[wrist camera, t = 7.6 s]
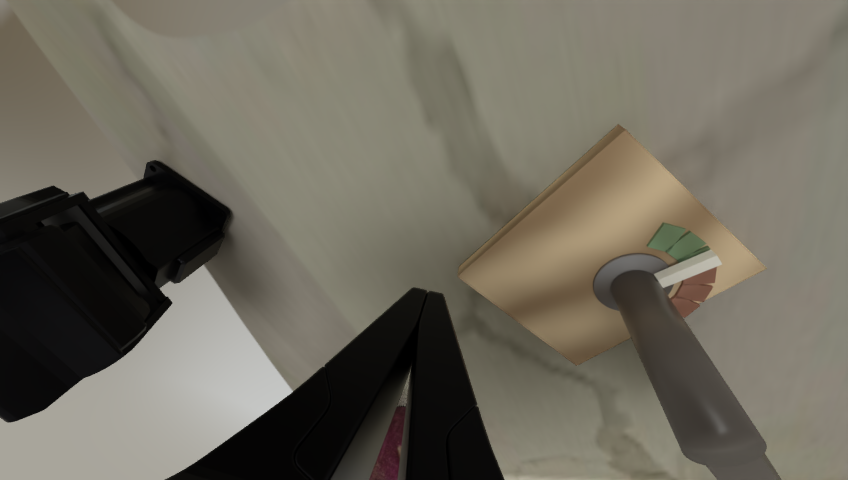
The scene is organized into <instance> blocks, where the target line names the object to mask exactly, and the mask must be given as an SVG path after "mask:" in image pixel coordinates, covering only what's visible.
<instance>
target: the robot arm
mask: <svg viewBox="0 0 848 480" xmlns="http://www.w3.org/2000/svg"><path fill="white" fill-rule="evenodd" d="M229 218H230V211H229V210H228V209H227V208H226V207H224V206H223V205H221V204H220V203H219V202H217V201H216V200H214V199H213V198H211V197H210V196H208V195H207V194H205V193H204V192H202V191H201V190H199V189H198V188H197V187H195V186H194V185H192V184H191V183H189V182H188V181H186V180H185V179H183V178H182V177H180V176H179V175H177V174H176V173H175V172H173V171H172V170H170V169H169V168H167V167H166V166H164V165H163V164H161V163H160V162H158V161H156V160H153V161H150V162H148V163H147V164H146V169H145V173H144V178H143V179H141V180H139V181H136V182H134V183H131V184H128V185H126V186H123V187H121V188H118V189H116V190H113V191H111V192H108V193H106V194H103V195H101V196H98V197H96V198H93V199H89V198H88V197H87V195H86V194H85V193H84V192H79V193H75V194H71V195H69V194H68V192H64V191H62V190H61V189H59V188H56V187H55V186H51V187H47V188H44V189H41V190H38V191H35V192H32V193H29V194H26V195H22V196H19V197H16V198H13V199H11V200H8V201H5V202H2V203H0V418H1V419H3V420H4V421H6V422H14V421H18V420H20V419H23V418H25V417H28V416H30V415H33V414H35V413H38V412H40V411H42V410H44V409H46V408H47V407H48V406H50V405H51V404H52V403H53V402H55V401H56V400H57V399H58V398H59V397H61V396H62V395H63V394H64V393H65V392H67V391H68V390H69V389H70V388H72V387H73V386H74V385H75V384H77V383H78V382H79V381H81V380H82V379H83V378H85V377H88V376H91V375H93V374H95V373H97V372H100V371H101V370H103V369H105V368H107V367H109V366H110V365H112V364H113V363H115V362H117V361H118V360H119V359H121V358H122V357H124V356H125V355H126V354H127V353H128V352H130V351H131V350H132V349H133V348H134V347H135V346H136V345H137V344H138V343H139V342H140V340H141V339H142V338H143V337H144V336H145V335H146V333H147V332H148V331H149V330H150V329H151V328H152V326H153V325H154V324H155V323H156V322H157V321H158V320H159V318H160V317H161V316H162V315H163V314H164V313H165V311H166V310H167V309H168V308H169V307H170V306H171V304H172V301H171V300H170V299H169V298H168V297H166V296H165V295H164V294H163V293H162V291H161V290H160V289H159V288H160V287H162V286H163V285H165V284H166V283H168V282H169V281H171V282H173V283H180V282H181V281H182V280H184V279H185V278H186V277H188V276H189V275H190V274H192V273H193V272H194V271H195V270H197V269H198V268H199V267H201V266H202V265H203V264H205V263H206V262H208V261H209V260H210V259H211V258H212V257H214V256H215V255H216V254H217V252H218V250H219V248H220V245H221V243H222V241H223V239H224V233H223V231H224V229H225V227H226V224H227V222H228V220H229ZM410 369H411V372H410ZM409 373H410V379H409V387H408V395H407V404H406V412H405V421H404V429H403V438H402V446H401V455H400V463H399V472H398V480H504V477H503V475H502V472H501V470H500V467H499V465H498V462H497V460H496V458H495V455H494V453H493V450H492V447H491V444H490V442H489V439H488V436H487V433H486V430H485V427H484V424H483V421H482V417H481V414H480V411H479V408H478V407H477V402H476V398H475V395H474V392H473V389H472V385H471V382H470V379H469V376H468V372H467V369H466V366H465V363H464V359H463V356H462V353H461V349H460V346H459V343H458V340H457V336H456V333H455V330H454V327H453V323H452V320H451V317H450V314H449V310H448V307H447V304H446V300H445V297H444V295H443V294H442V293H438V292H433V291H429V292H427V290H424V289H420V288H416V287H413V288H411V289H410V290H409V291H408V292H407V293H406V294H405V295H403V296H402V297H401V298H400V299H399V300H398V301H397V302H395V303H394V304H393V305H392V306H391V307H390V308H389V309H388V310H386V311H385V312H384V313H383V314H382V315H381V316H380V317H378V318H377V319H376V320H375V321H374V322H373V323H372V324H370V325H369V326H368V327H367V328H366V329H365V330H364V331H363V332H361V333H360V334H359V335H358V336H357V337H356V338H355V339H353V340H352V341H351V342H350V343H349V344H348V345H347V346H346V347H344V348H343V349H342V350H341V351H340V352H339V353H338V354H336V355H335V356H334V357H333V358H332V359H331V360H330V361H329V362H327V363H326V364H325V367H321V368H320V369H319V370H318V371H317V372H316V373H315V374H314V375H312V376H311V377H310V378H309V379H308V380H307V381H305V382H304V383H303V384H302V385H301V386H299V387H298V388H297V389H296V390H295V391H293V392H292V393H291V394H290V395H289V396H287V397H286V398H284V399H283V400H282V401H280V402H279V403H278V404H276V405H275V406H274V407H272V408H271V409H270V410H268V411H267V412H266V413H264V414H263V415H261V416H260V417H259V418H257V419H256V420H255V421H253V422H252V423H250V424H249V425H248V426H246V427H245V428H243V429H242V430H241V431H239V432H238V433H236V434H235V435H234V436H232V437H231V438H230V439H228V440H227V441H225V442H224V443H223V444H221V445H220V446H218V447H217V448H215V449H214V450H213V451H211V452H210V453H208V454H207V455H206V456H204V457H203V458H201V459H200V460H198V461H197V462H195V463H194V464H192V465H191V466H189V467H187V468H186V469H184V470H182V471H181V472H179V473H177V474H175V475H173V476H171V477H169V478H167V479H165V480H369V478H370V476H371V473H372V470H373V468H374V465H375V463H376V460H377V457H378V455H379V452H380V449H381V447H382V444H383V442H384V439H385V436H386V434H387V431H388V428H389V426H390V423H391V421H392V418H393V415H394V413H395V410H396V407H397V405H398V402H399V400H400V397H401V394H402V392H403V389H404V386H405V384H406V381H407V378H408V375H409Z"/></svg>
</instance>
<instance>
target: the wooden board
mask: <svg viewBox="0 0 848 480" xmlns="http://www.w3.org/2000/svg"><path fill="white" fill-rule="evenodd" d="M709 250H712V251H713V252H714V253H715V254H716V255H717V256H718V258H719V259H720V261H721V263H722V265H719V266H717V267H714V268H712V269H709V270H707V271H704V272H702V273H700V274H697V275H695V276H692V277H690V278H687V279H685V280H682V281H680V282H677V283H675V284H672V285H670V286H667V287H665V288H663V289H664V290H665V292H666V293H667V295H668V296H669V298H670V299H671V301H672V302H673V304H674V305H675V307H676V308H677V310H678V311H679V313H680V314H681V316H682V317H684V318H685V317H686V316H688V315H689V314H690V313H691V312H693V311H694V310H695V309H697V308H698V307H699V306H700V305H699V303H701V302H704V301H705V300H706V299H708V298H710V297H712V296H714V295H716V294H718V293H720V292H722V291H724V290H726V289H728V288H730V287H732V286H734V285H736V284H738V283H740V282H742V281H744V280H746V279H748V278H750V277H752V276H754V275H756V274H758V273H760V272H762V271H764V270H765V269H767V268H766V267H765V266H764V265H763V264H762V263H761V262H760V261H759V260H758V259H757V258H756V257H755V256H754V255H753V254H752V253H751V252H750V251H749V250H748V249H747V248H746V247H745V246H744V245H743V244H742V243H741V242H740V241H739V240H738V239H737V238H736V237H735V236H734V235H733V234H732V233H731V232H730V231H728V230H727V229H726V228H725V227H724V226H723V225H722V224H721V223H720V222H719V221H718V220H717V219H716V218H715V217H714V216H713V215H712V214H711V213H710V212H709V211H708V210H707V209H706V208H705V207H704V206H703V205H702V204H701V203H700V202H699V201H698V200H697V199H696V198H695V197H694V196H693V195H692V194H691V193H690V192H689V191H688V190H687V189H686V188H685V187H684V186H683V185H682V184H681V183H680V182H679V181H678V180H677V179H676V178H675V177H674V176H673V175H672V174H671V173H669V172H668V171H667V170H666V169H665V168H664V167H663V166H662V165H661V164H660V163H659V162H658V161H657V160H656V159H655V158H654V157H653V156H652V155H651V154H650V153H649V152H648V151H647V150H646V149H645V148H644V147H643V146H642V145H641V144H640V143H639V142H638V141H637V140H636V139H635V138H634V137H633V136H632V135H631V134H630V133H629V132H628V131H627V130H626V129H624V128H623V127H621V126H620V125H619V124H618V125H617V126H616V127H615V128H614V129H613V130H611V131H610V132H609V133H608V134H607V135H606V136H605V137H604V138H603V139H601V140H600V141H599V142H598V143H597V144H596V145H595V146H594V147H592V148H591V149H590V150H589V151H588V152H587V153H586V154H585V155H583V156H582V157H581V158H580V159H579V160H578V161H577V162H576V163H575V164H573V165H572V166H571V167H570V168H569V169H568V170H567V171H566V172H564V173H563V174H562V175H561V176H560V177H559V178H558V179H557V180H555V181H554V182H553V183H552V184H551V185H550V186H549V187H548V188H547V189H545V190H544V191H543V192H542V193H541V194H540V195H539V196H538V197H536V198H535V199H534V200H533V201H532V202H531V203H530V204H529V205H527V206H526V207H525V208H524V209H523V210H522V211H521V212H520V213H519V214H517V215H516V216H515V217H514V218H513V219H512V220H511V221H510V222H508V223H507V224H506V225H505V226H504V227H503V228H502V229H501V230H500V231H498V232H497V233H496V234H495V235H494V236H493V237H492V238H491V239H489V240H488V241H487V242H486V243H485V244H484V245H483V246H482V247H480V248H479V249H478V250H477V251H476V252H475V253H474V254H473V255H472V256H470V257H469V258H468V259H467V260H466V261H465V262H464V263H463V264H461V265H460V266H459V270H458V276H457V277H458V278H460V279H461V280H462V281H464V282H465V283H467V284H468V285H469V286H471V287H472V288H473V289H475V290H476V291H477V292H479V293H480V294H481V295H483V296H484V297H485V298H487V299H488V300H489V301H491V302H492V303H493V304H495V305H496V306H497V307H499V308H500V309H501V310H503V311H504V312H505V313H507V314H508V315H509V316H511V317H512V318H513V319H515V320H516V321H517V322H519V323H520V324H521V325H523V326H524V327H525V328H527V329H528V330H529V331H531V332H532V333H533V334H535V335H536V336H537V337H539V338H540V339H541V340H543V341H544V342H545V343H547V344H548V345H549V346H551V347H552V348H553V349H555V350H556V351H557V352H559V353H560V354H561V355H563V356H564V357H565V358H567V359H568V360H569V361H571V362H572V363H573V364H575V365H576V366H577V365H579V364H581V363H583V362H585V361H587V360H589V359H590V358H592V357H594V356H596V355H598V354H600V353H602V352H604V351H606V350H608V349H610V348H612V347H614V346H616V345H618V344H620V343H622V342H624V341H626V340H628V339H630V338H631V336H630V334H629V332H628V329H627V327H626V325H625V323H624V321H623V318H622V316H621V314H620V312H619V309H618V307H617V305H616V303H615V300H614V298H613V296H612V294H611V284H612V282H613V281H614V280H615V279H616V278H617V277H618V276H619V275H621V274H623V273H625V272H628V271H633V270H643V271H647V272H649V273H651V274H653V275H654V274H655V273H657V272H659V271H662V270H664V269H666V268H669V267H671V266H673V265H676V264H678V263H680V262H683V261H685V260H688V259H690V258H692V257H695V256H697V255H699V254H702V253H704V252H706V251H709ZM654 276H655V275H654Z"/></svg>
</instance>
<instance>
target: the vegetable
mask: <svg viewBox="0 0 848 480" xmlns="http://www.w3.org/2000/svg"><path fill="white" fill-rule="evenodd" d="M405 412H406V407H400V406H399V407H396V410H395V413H394V415H393V418H392V421H391V423H390V426H389V428H388V431H387V434H386V436H385V439H384V442H383V444H382V447H381V449H380V452H379V455H378V457H377V460H376V463H375V465H374V468H373V470H372V473H371V476H370V478H369V480H398V472H399V463H400V455H401V446H402V438H403V429H404V421H405Z"/></svg>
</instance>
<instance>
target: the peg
mask: <svg viewBox="0 0 848 480" xmlns="http://www.w3.org/2000/svg"><path fill="white" fill-rule="evenodd" d="M719 265H722V263H721V261H720V259H719V258H718V256H717V255H716V254H715V253H714V252H713V251H712V250H709V251H706V252H704V253H702V254H699V255H697V256H695V257H692V258H690V259H688V260H685V261H683V262H680V263H678V264H676V265H673V266H671V267H669V268H666V269H664V270H662V271H659V272H657V273H655V274H654V275H655V276H654V275H653V274H651V273H649V272H647V271H643V270H633V271H628V272H625V273H623V274H621V275H619V276H618V277H617V278H616V279H615V280H614V281H613V282H612V284H611V294H612V296H613V298H614V300H615V303H616V305H617V307H618V309H619V312H620V314H621V316H622V318H623V321H624V323H625V325H626V327H627V329H628V332H629V334H630V336H631V338H632V341H633V343H634V345H635V347H636V350H637V352H638V354H639V356H640V359H641V361H642V363H643V365H644V368H645V370H646V372H647V374H648V376H649V379H650V381H651V383H652V385H653V388H654V390H655V392H656V394H657V397H658V399H659V401H660V403H661V406H662V408H663V410H664V412H665V415H666V417H667V419H668V421H669V423H670V426H671V428H672V430H673V432H674V435H675V437H676V439H677V441H678V444H679V446H680V448H681V450H682V453H683V454H684V455H685V456H686V457H687V458H688V459H690V460H692V461H694V462H696V463H699V464H702V465H706V466H707V467H708V469H709V470H710V471H711V472H712V473H713V475H714V476H715V477H716V478H717V479H718V480H781V478H780V476H779V475H778V473H777V472H776V470H775V469H774V467H773V466H772V464H771V462H770V461H769V459H768V458H767V456H766V455H765V451H766V448H767V446H766V443H765V441H764V439H763V438H762V436H761V435H760V433H759V432H758V430H757V429H756V427H755V426H754V424H753V423H752V421H751V420H750V418H749V417H748V415H747V414H746V412H745V411H744V409H743V408H742V406H741V405H740V403H739V402H738V400H737V399H736V397H735V396H734V394H733V393H732V391H731V390H730V388H729V387H728V385H727V384H726V382H725V381H724V379H723V378H722V376H721V375H720V373H719V372H718V370H717V369H716V367H715V365H714V364H713V362H712V361H711V359H710V358H709V356H708V355H707V353H706V352H705V350H704V349H703V347H702V346H701V344H700V343H699V341H698V340H697V338H696V337H695V335H694V334H693V332H692V331H691V329H690V328H689V326H688V325H687V323H686V322H685V320H684V319H683V317H682V316H681V314H680V313H679V311H678V310H677V308H676V307H675V305H674V304H673V302H672V301H671V299H670V298H669V296H668V295H667V293H666V292H665V290H664V289H663V288H665V287H667V286H670V285H672V284H675V283H677V282H680V281H682V280H685V279H687V278H690V277H692V276H695V275H697V274H700V273H702V272H704V271H707V270H709V269H712V268H714V267H717V266H719Z"/></svg>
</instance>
